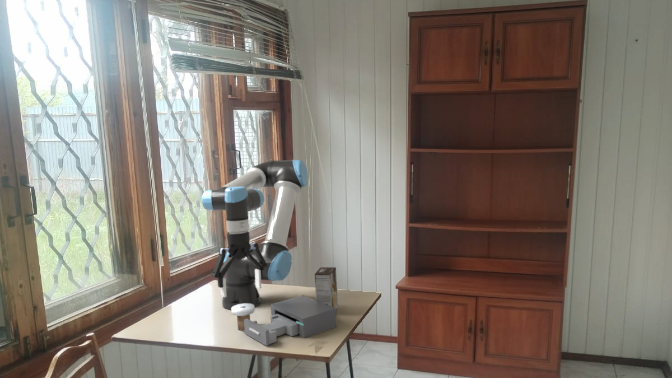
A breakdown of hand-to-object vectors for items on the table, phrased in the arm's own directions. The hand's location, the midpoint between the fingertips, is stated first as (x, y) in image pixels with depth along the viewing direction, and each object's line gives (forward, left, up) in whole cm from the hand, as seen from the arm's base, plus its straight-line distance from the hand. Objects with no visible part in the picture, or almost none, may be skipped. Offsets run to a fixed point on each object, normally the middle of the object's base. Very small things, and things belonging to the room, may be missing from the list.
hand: (241, 291), depth 172 cm
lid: (0, 0, -7) cm, 7 cm away
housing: (+12, +17, -13) cm, 25 cm away
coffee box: (+8, +31, -14) cm, 35 cm away
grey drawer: (+12, +4, -13) cm, 18 cm away
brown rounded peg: (0, 0, -13) cm, 13 cm away
